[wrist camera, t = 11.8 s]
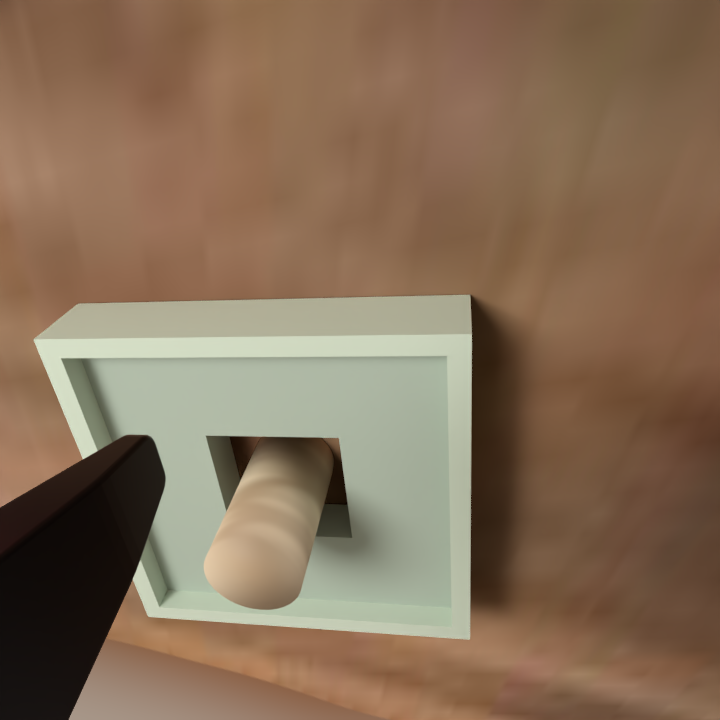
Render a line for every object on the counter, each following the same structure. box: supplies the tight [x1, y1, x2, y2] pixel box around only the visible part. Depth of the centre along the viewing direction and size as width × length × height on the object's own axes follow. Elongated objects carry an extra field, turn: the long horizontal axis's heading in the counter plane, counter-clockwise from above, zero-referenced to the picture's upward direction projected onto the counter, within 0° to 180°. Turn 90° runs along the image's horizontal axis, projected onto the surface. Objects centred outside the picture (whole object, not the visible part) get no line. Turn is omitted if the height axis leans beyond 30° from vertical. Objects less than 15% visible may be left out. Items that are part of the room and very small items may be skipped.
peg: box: [204, 437, 334, 610], centre depth 24 cm, size 4×4×6 cm
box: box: [33, 295, 472, 640], centre depth 26 cm, size 16×16×3 cm
